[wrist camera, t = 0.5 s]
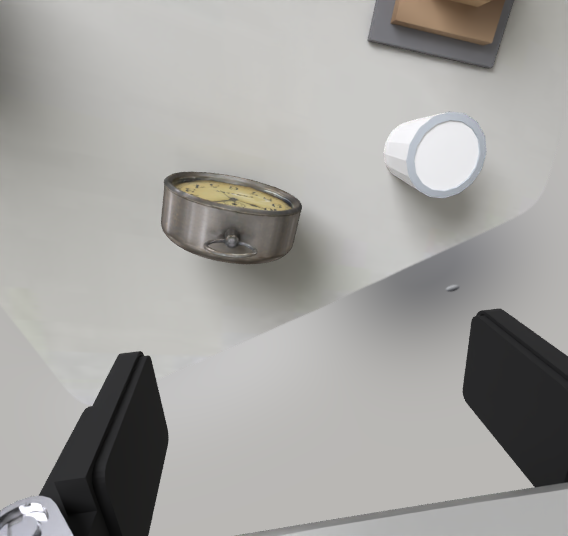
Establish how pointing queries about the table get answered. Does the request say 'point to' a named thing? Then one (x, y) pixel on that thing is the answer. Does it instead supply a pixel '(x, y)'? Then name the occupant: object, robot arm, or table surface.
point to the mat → (434, 38)
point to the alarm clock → (229, 217)
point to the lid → (451, 18)
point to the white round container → (437, 153)
